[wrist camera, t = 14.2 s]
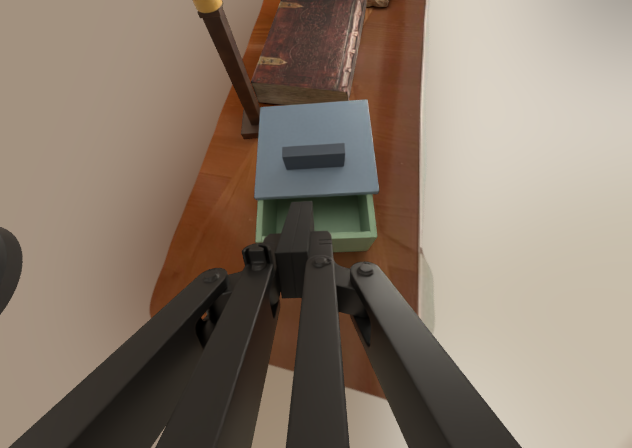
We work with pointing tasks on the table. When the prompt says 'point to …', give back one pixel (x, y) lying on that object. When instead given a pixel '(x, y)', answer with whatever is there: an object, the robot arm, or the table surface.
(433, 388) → the robot arm
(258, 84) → the hardback book
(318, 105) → the lid
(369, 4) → the decorative stone
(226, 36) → the stand
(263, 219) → the bin
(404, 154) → the table surface
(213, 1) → the peg
